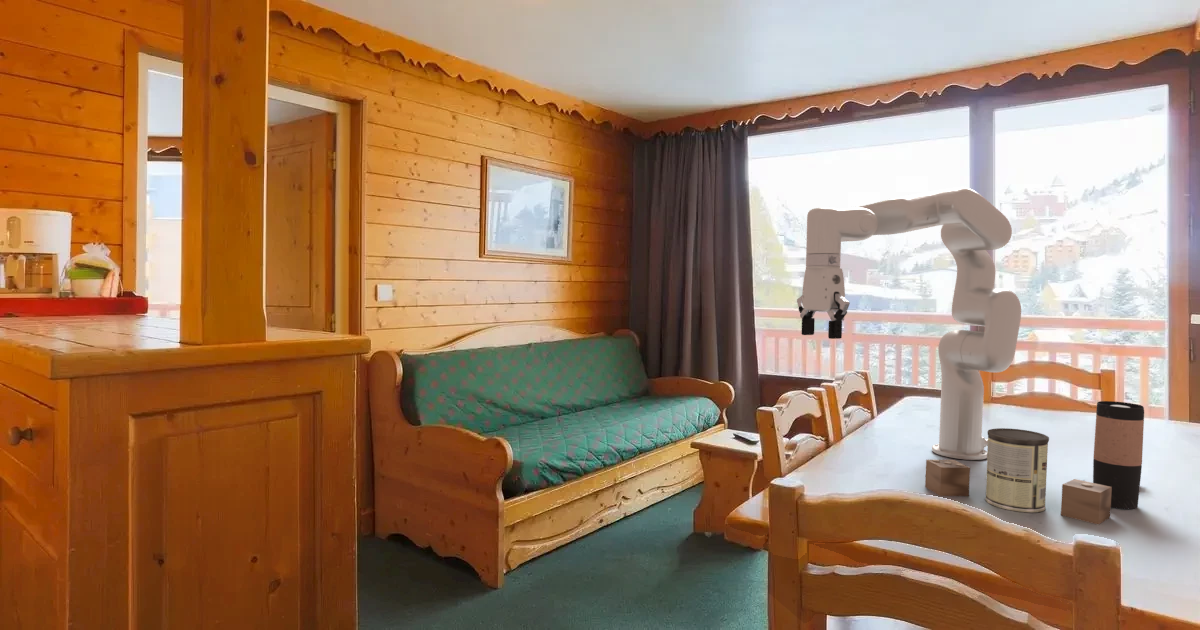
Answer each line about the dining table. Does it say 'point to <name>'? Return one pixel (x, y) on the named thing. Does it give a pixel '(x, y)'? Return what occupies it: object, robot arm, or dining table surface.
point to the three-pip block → (947, 477)
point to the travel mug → (1119, 451)
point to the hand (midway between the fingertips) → (820, 336)
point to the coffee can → (1016, 469)
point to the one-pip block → (1086, 501)
